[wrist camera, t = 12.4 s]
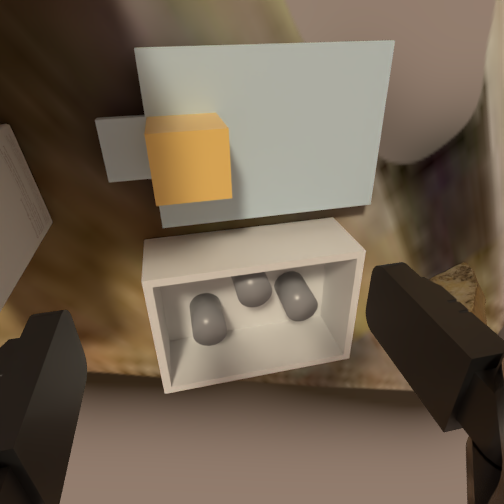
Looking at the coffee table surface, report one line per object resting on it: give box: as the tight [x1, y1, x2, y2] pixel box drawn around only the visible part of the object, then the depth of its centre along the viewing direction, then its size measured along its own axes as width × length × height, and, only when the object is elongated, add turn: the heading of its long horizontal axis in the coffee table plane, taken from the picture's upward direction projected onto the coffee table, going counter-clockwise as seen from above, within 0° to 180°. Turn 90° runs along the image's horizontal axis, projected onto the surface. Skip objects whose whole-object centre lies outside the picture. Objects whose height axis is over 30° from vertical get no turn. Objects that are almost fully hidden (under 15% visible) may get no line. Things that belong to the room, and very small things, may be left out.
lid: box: [95, 40, 395, 228], centre depth 24 cm, size 20×12×7 cm, turn 91°
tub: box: [142, 217, 366, 394], centre depth 31 cm, size 16×11×6 cm
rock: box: [429, 263, 487, 325], centre depth 37 cm, size 11×9×10 cm
